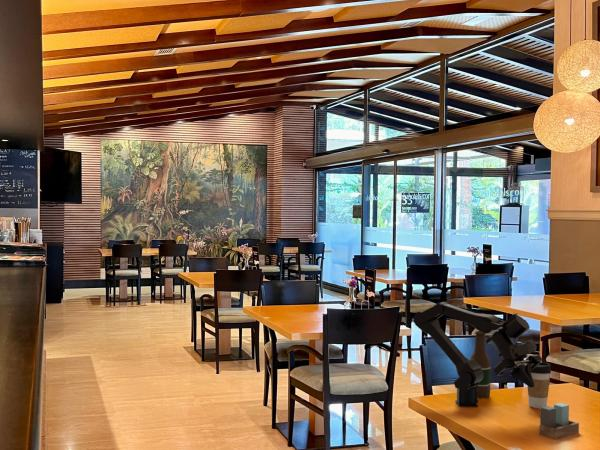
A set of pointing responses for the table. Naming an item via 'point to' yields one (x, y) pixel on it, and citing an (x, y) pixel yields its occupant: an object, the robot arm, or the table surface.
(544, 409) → the dark gray block
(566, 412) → the pale blue tall block
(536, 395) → the coffee cup
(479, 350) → the beer bottle
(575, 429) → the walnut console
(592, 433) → the table surface
